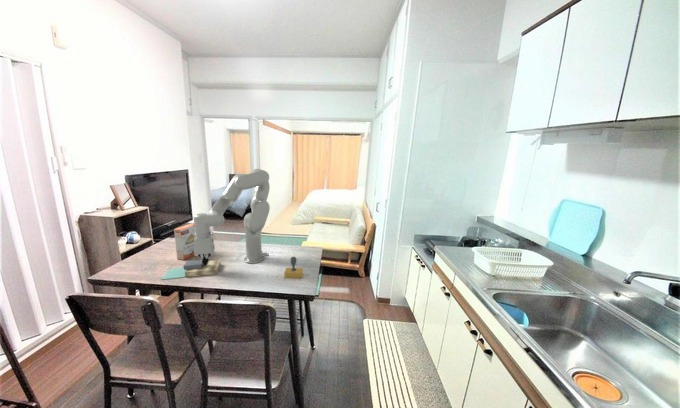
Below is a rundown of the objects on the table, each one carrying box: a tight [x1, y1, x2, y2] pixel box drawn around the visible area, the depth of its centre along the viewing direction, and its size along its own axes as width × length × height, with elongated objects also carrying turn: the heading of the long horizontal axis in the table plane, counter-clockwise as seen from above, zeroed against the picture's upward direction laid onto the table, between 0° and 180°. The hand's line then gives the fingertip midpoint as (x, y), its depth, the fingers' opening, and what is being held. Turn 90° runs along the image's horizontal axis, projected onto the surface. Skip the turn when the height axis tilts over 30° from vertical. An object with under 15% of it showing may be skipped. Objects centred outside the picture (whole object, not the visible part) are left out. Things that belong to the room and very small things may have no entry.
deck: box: [184, 259, 221, 278], centre depth 141 cm, size 16×12×3 cm
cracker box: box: [173, 222, 195, 261], centre depth 157 cm, size 14×6×21 cm, turn 167°
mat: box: [160, 267, 186, 281], centre depth 137 cm, size 11×12×1 cm
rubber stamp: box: [283, 256, 304, 279], centre depth 137 cm, size 10×6×12 cm, turn 92°
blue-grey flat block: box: [183, 259, 204, 270], centre depth 139 cm, size 9×6×2 cm, turn 107°
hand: (205, 264), depth 140 cm, fingers closed
